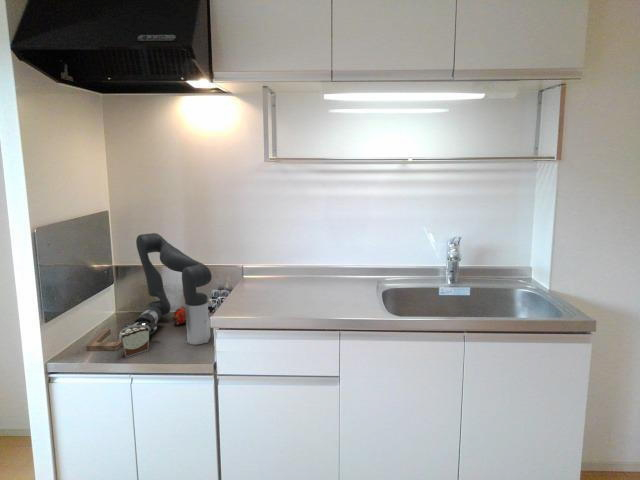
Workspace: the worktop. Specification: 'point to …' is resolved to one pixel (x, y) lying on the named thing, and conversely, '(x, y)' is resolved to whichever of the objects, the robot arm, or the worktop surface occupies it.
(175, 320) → the dragon fruit
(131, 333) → the food container
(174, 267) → the robot arm
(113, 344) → the notched board
